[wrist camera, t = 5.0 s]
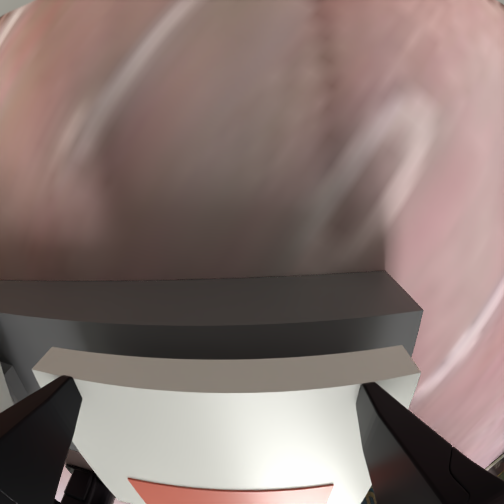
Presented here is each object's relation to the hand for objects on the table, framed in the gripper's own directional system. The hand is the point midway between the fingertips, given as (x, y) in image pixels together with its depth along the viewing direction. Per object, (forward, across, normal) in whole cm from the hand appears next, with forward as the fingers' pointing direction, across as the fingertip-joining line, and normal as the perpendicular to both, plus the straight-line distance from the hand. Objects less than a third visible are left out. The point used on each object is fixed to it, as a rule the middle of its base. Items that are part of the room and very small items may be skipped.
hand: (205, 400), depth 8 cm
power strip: (+8, +14, +6) cm, 17 cm away
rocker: (+2, 0, +5) cm, 5 cm away
